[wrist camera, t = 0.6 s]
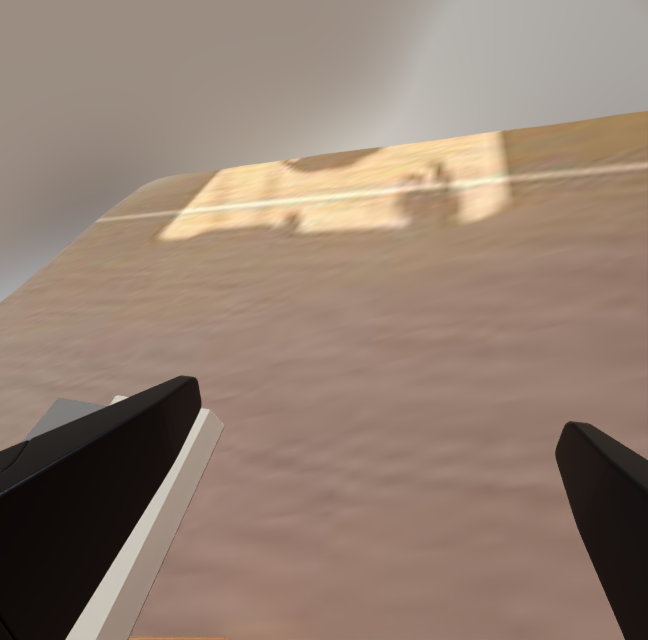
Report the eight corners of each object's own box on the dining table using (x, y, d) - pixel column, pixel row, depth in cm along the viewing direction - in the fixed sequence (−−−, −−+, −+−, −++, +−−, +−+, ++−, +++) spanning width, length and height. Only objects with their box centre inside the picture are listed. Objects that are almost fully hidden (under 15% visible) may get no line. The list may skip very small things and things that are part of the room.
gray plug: (148, 517, 23) (55, 477, 17) (104, 504, 24) (4, 463, 19) (178, 458, 25) (106, 405, 20) (137, 449, 27) (58, 397, 21)
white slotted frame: (-76, 1087, 12) (-168, 1169, 10) (-197, 924, 15) (-284, 964, 13) (224, 425, 26) (210, 409, 25) (135, 410, 29) (116, 395, 28)
